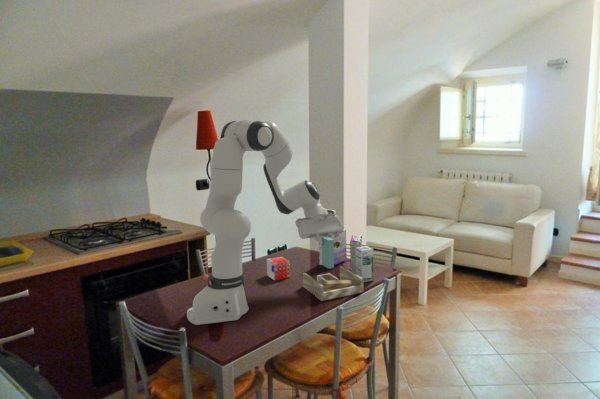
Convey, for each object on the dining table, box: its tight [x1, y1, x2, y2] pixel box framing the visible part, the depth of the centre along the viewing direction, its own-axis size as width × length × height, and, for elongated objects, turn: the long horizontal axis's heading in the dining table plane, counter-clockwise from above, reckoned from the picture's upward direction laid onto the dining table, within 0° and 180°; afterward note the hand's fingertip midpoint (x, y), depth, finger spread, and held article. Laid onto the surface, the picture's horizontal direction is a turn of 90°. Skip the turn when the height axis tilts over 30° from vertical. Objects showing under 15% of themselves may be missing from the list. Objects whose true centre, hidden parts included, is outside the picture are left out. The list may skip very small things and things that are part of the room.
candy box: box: [318, 229, 348, 268], centre depth 208 cm, size 14×6×16 cm, turn 130°
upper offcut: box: [321, 279, 352, 290], centre depth 172 cm, size 12×4×2 cm, turn 91°
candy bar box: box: [349, 234, 363, 274], centre depth 194 cm, size 11×5×16 cm, turn 168°
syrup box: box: [356, 245, 374, 283], centre depth 185 cm, size 6×6×14 cm
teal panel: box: [322, 237, 335, 269], centre depth 176 cm, size 2×6×12 cm, turn 24°
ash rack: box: [302, 266, 364, 302], centre depth 175 cm, size 19×17×6 cm
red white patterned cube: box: [266, 256, 291, 281], centre depth 192 cm, size 8×8×8 cm
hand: (326, 243), depth 176 cm, fingers closed on teal panel, 2 cm apart
